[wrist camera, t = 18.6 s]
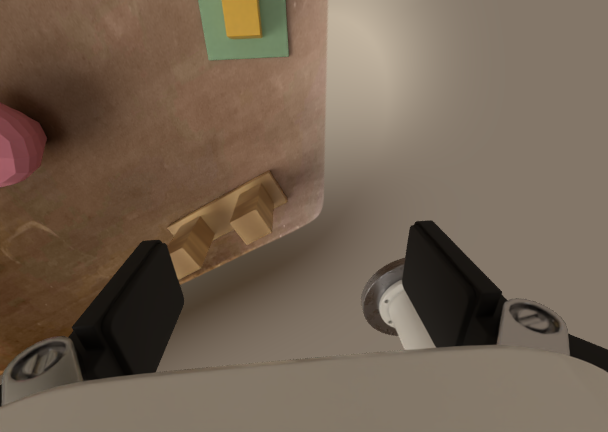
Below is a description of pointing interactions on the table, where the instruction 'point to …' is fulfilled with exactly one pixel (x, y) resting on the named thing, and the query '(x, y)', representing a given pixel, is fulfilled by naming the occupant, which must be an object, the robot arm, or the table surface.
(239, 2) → the bar
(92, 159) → the table surface
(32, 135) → the apple
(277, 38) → the mat
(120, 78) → the table surface
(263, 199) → the light wood u-shaped piece
